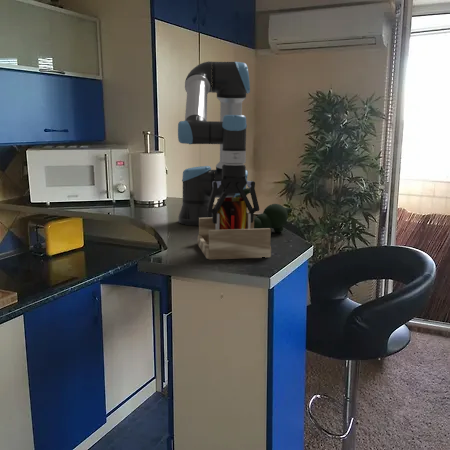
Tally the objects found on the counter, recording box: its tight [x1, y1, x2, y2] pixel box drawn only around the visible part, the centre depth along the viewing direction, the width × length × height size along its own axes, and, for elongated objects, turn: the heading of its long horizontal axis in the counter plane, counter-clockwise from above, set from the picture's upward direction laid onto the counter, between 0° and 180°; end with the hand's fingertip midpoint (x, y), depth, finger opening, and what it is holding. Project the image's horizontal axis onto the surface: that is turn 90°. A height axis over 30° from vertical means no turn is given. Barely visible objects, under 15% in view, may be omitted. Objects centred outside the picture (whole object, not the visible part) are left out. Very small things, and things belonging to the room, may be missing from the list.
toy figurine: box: [235, 187, 293, 233], centre depth 198 cm, size 9×19×25 cm
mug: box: [216, 197, 248, 230], centre depth 171 cm, size 10×14×12 cm
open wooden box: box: [197, 218, 272, 261], centre depth 172 cm, size 22×20×9 cm
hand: (232, 232), depth 172 cm, fingers closed on mug, 10 cm apart
